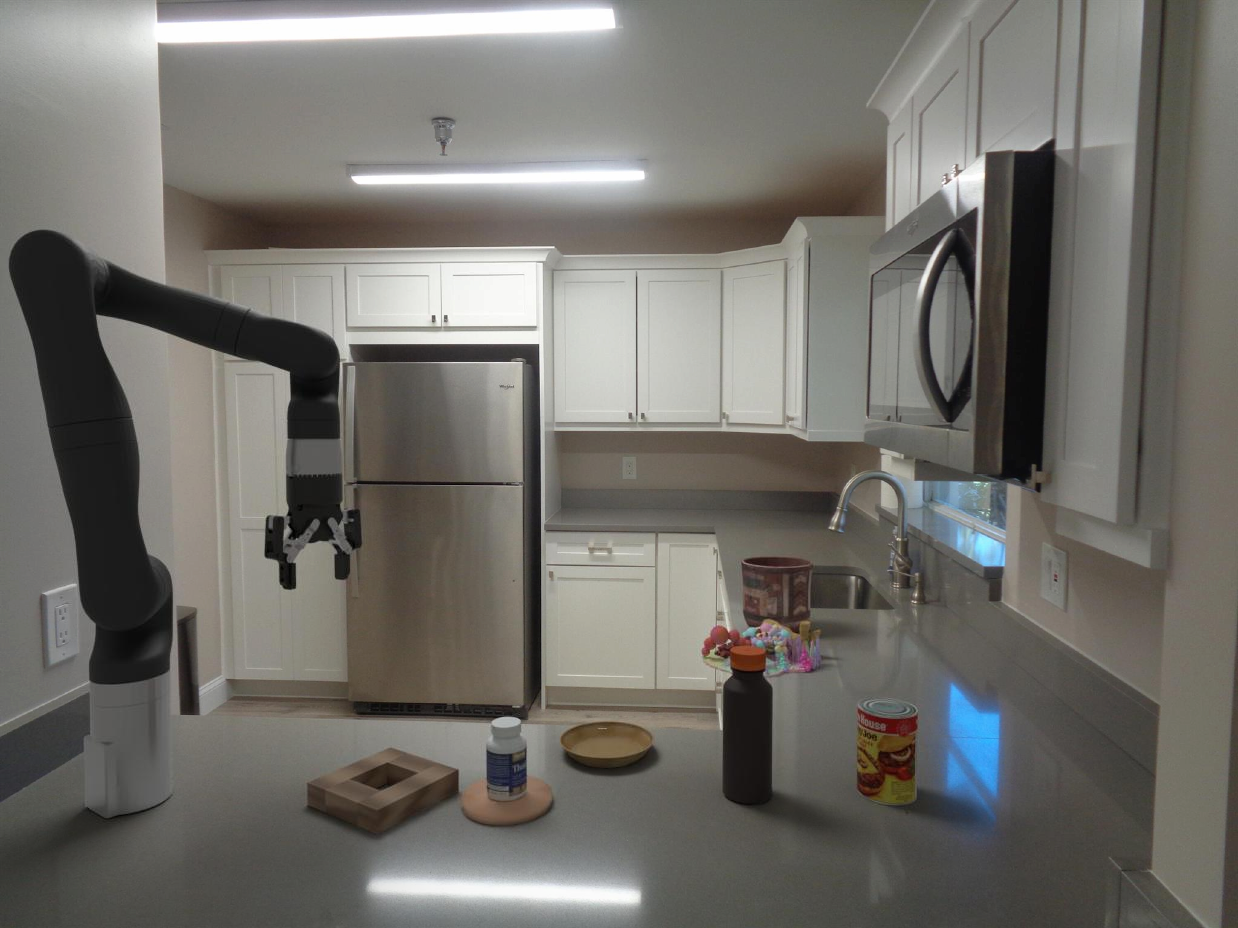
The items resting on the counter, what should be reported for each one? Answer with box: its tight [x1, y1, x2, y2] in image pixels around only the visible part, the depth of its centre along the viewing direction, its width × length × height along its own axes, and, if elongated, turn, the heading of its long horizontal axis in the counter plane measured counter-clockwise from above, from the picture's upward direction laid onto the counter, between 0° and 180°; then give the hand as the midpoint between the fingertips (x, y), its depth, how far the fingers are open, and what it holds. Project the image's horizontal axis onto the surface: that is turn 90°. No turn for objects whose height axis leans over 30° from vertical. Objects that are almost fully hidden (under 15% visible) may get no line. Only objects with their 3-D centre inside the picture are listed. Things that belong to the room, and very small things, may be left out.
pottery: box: [741, 555, 814, 634], centre depth 194 cm, size 18×18×18 cm
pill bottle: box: [485, 716, 528, 801], centre depth 103 cm, size 5×5×10 cm
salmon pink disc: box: [461, 775, 553, 826], centre depth 103 cm, size 12×12×1 cm
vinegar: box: [721, 646, 774, 805], centre depth 106 cm, size 7×7×20 cm
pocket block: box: [306, 747, 460, 835], centre depth 105 cm, size 14×14×3 cm
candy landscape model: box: [700, 619, 822, 679], centre depth 169 cm, size 25×24×9 cm
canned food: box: [856, 696, 919, 807], centre depth 106 cm, size 8×8×12 cm
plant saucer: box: [558, 720, 655, 769], centre depth 120 cm, size 15×15×3 cm
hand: (315, 584), depth 110 cm, fingers open, 8 cm apart
